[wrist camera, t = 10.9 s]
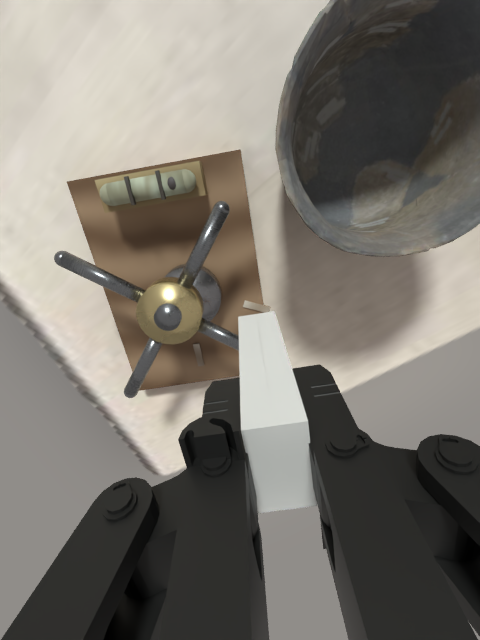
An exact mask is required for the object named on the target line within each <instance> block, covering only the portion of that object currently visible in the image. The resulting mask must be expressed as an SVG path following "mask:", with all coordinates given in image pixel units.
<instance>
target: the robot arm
mask: <svg viewBox="0 0 480 640" xmlns="http://www.w3.org/2000/svg"><path fill="white" fill-rule="evenodd" d="M238 330H239V372H240V378H234V379H227V380H221V381H214V382H212V384H211V385H210V386H209V388H208V389H207V391H206V392H205V399H204V406H203V414H202V417H201V418H199V419H197V420H195V421H193V422H192V423H190V424H189V425H188V426H187V427H186V428H185V429H184V430H183V431H182V433H181V435H180V437H179V439H178V440H179V444H180V447H181V450H182V453H183V456H184V460H185V463H186V466H187V469H186V470H184V471H183V472H182V473H181V474H179V475H178V476H176V477H174V478H172V479H170V480H168V481H165V482H163V483H161V484H158V485H156V486H154V487H151V486H150V485H149V484H148V483H147V481H145V480H143V479H140V478H127V479H124V480H121V481H119V482H116V483H114V484H112V485H111V486H110V487H108V488H107V489H106V490H104V491H103V492H102V493H101V494H100V495H99V496H98V498H97V499H96V500H95V501H94V502H93V504H92V505H91V507H90V508H89V510H88V511H87V513H86V514H85V516H84V517H83V519H82V520H81V522H80V523H79V525H78V526H77V528H76V529H75V531H74V532H73V534H72V535H71V536H70V538H69V540H68V541H67V543H66V544H65V545H64V547H63V548H62V550H61V551H60V553H59V554H58V556H57V557H56V559H55V560H54V562H53V563H52V565H51V566H50V568H49V569H48V571H47V572H46V574H45V575H44V577H43V578H42V580H41V581H40V583H39V584H38V586H37V587H36V589H35V590H34V592H33V593H32V594H31V596H30V597H29V599H28V600H27V602H26V603H25V605H24V607H23V608H22V609H21V611H20V613H19V614H18V615H17V617H16V618H15V620H14V621H13V623H12V624H11V626H10V627H9V629H8V630H7V632H6V633H5V635H4V636H3V638H2V639H1V640H269V631H268V619H267V606H266V594H265V579H264V566H263V553H262V542H261V541H262V540H261V533H260V528H259V524H258V513H264V512H272V511H280V510H288V509H295V508H303V507H311V506H317V504H318V508H319V512H320V519H321V529H322V539H323V548H324V549H327V553H328V557H329V561H330V565H331V570H332V573H333V578H334V582H335V586H336V590H337V594H338V598H339V602H340V606H341V610H342V614H343V618H344V623H345V627H346V631H347V635H348V639H349V640H478V639H477V637H476V635H475V634H474V631H473V629H472V628H471V626H470V624H471V625H472V627H473V628H474V629H475V631H476V632H477V633H478V635H479V636H480V446H478V445H477V444H475V443H473V442H472V441H469V440H466V439H463V438H461V437H458V436H453V435H442V434H440V435H435V436H429V437H427V438H426V439H424V440H423V441H421V442H420V444H419V447H418V449H417V450H409V449H400V448H393V447H388V446H384V445H381V444H378V443H376V442H374V441H373V440H372V439H371V438H370V437H369V435H368V434H367V433H365V432H363V431H362V430H360V429H359V428H358V427H357V425H356V423H355V421H354V419H353V417H352V415H351V413H350V411H349V409H348V407H347V405H346V403H345V401H344V399H343V397H342V395H341V393H340V391H339V389H338V387H337V385H336V383H335V381H334V379H333V376H332V374H331V372H329V371H328V370H327V369H325V368H324V367H322V366H321V365H314V366H307V367H300V368H294V369H292V366H291V363H290V360H289V357H288V353H287V350H286V347H285V343H284V340H283V337H282V334H281V330H280V327H279V324H278V320H277V317H276V314H275V311H271V312H265V313H259V314H253V315H246V316H240V317H238ZM316 500H317V501H316ZM257 509H258V511H257ZM468 621H469V622H468ZM469 623H470V624H469Z"/></svg>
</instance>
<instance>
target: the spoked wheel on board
mask: <svg viewBox="0 0 480 640" xmlns="http://www.w3.org/2000/svg"><path fill="white" fill-rule="evenodd" d="M67 184H68V187H69V190H70V192H71V195H72V198H73V201H74V204H75V207H76V210H77V213H78V216H79V218H80V221H81V224H82V227H83V230H84V233H85V236H86V239H87V242H88V244H89V247H90V250H91V253H92V256H93V259H94V262H95V265H96V266H97V267H99V268H101V269H103V270H105V271H107V272H109V273H111V274H113V275H115V276H117V277H120V278H122V279H124V280H126V281H128V282H130V283H132V284H134V285H136V286H138V287H140V288H142V289H144V290H147V288H148V287H149V286H150V285H151V284H152V283H153V282H155V281H157V280H159V279H161V278H164V277H165V276H166V275H167V273H168V272H169V271H170V270H172V269H173V268H175V267H176V266H179V265H182V264H186V262H187V260H188V258H189V256H190V254H191V252H192V250H193V248H194V246H195V244H196V242H197V240H198V238H199V236H200V234H201V232H202V230H203V228H204V226H205V223H206V221H207V219H208V217H209V215H210V213H211V211H212V209H213V207H214V205H215V204H216V203H217V202H219V201H225V202H226V203H227V204H228V205H229V207H230V212H229V215H228V217H227V219H226V220H225V222H224V224H223V226H222V228H221V230H220V232H219V234H218V236H217V238H216V240H215V242H214V244H213V246H212V248H211V250H210V252H209V254H208V256H207V258H206V260H205V262H204V264H203V267H205V268H207V269H209V270H210V271H211V272H212V273H213V274H214V275H215V276H216V278H217V279H218V281H219V283H220V286H221V292H222V293H221V303H220V308H219V310H218V313H217V314H216V316H215V317H214V318H213V319H212V320H211V321H210V322H212V323H214V324H216V325H218V326H220V327H222V328H224V329H226V330H228V331H231V332H233V333H235V334H237V335H239V330H238V317H240V316H246V315H253V314H259V313H264V312H269V311H270V308H271V307H269V306H265V305H263V300H262V293H261V286H260V279H259V273H258V266H257V259H256V252H255V245H254V239H253V232H252V225H251V218H250V211H249V205H248V198H247V191H246V184H245V177H244V171H243V164H242V157H241V150H236V151H230V152H225V153H219V154H214V155H209V156H203V157H198V158H192V159H187V160H182V161H176V162H171V163H165V164H160V165H155V166H149V167H144V168H139V169H133V170H128V171H122V172H117V173H112V174H106V175H101V176H95V177H90V178H85V179H79V180H74V181H69V182H67ZM103 288H104V291H105V293H106V296H107V299H108V302H109V305H110V308H111V311H112V314H113V317H114V319H115V322H116V325H117V328H118V331H119V334H120V337H121V340H122V342H123V345H124V348H125V351H126V354H127V357H128V360H129V363H130V366H131V368H132V371H134V369H135V367H136V365H137V363H138V361H139V358H140V356H141V354H142V352H143V350H144V348H145V346H146V344H147V342H148V340H149V338H150V337H149V336H148V335H146V334H145V333H144V331H143V330H142V329H141V327H140V326H139V323H138V321H137V317H136V307H137V302H135V301H133V300H130V299H128V298H126V297H124V296H122V295H120V294H118V293H116V292H114V291H112V290H109V289H107V288H105V287H103ZM233 376H240V372H239V351H238V350H236V349H234V348H231V347H229V346H227V345H225V344H223V343H221V342H219V341H217V340H215V339H213V338H210V337H208V336H206V335H204V334H202V333H200V332H198V331H197V332H196V333H195V334H194V336H192V337H191V338H190V339H189V340H187V341H185V342H182V343H179V344H164V343H163V344H162V346H161V348H160V350H159V352H158V354H157V356H156V358H155V360H154V362H153V364H152V366H151V368H150V370H149V371H148V373H147V375H146V377H145V379H144V381H143V383H142V385H141V387H140V389H139V390H146V389H153V388H159V387H166V386H173V385H180V384H186V383H193V382H200V381H206V380H213V379H220V378H226V377H233Z"/></svg>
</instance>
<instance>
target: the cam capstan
mask: <svg viewBox="0 0 480 640" xmlns="http://www.w3.org/2000/svg"><path fill="white" fill-rule="evenodd" d="M229 212H230V207H229V205H228V204H227V203H226V202H225V201H219V202H217V203H216V204H215V205H214V207H213V209H212V211H211V213H210V215H209V217H208V219H207V221H206V223H205V226H204V228H203V230H202V232H201V234H200V236H199V238H198V240H197V242H196V244H195V246H194V248H193V250H192V252H191V254H190V256H189V258H188V260H187V262H186V264H182V265H179V266H176V267H175V268H173V269H172V270H170V271H169V272H168V273H167V275H166V276H165V277H164V278H161V279H159V280H157V281H155V282H153V283H152V284H151V285H150V286H149V287H148V288H147V290H144V289H142V288H140V287H138V286H136V285H134V284H132V283H130V282H128V281H126V280H124V279H122V278H120V277H117V276H115V275H113V274H111V273H109V272H107V271H105V270H103V269H101V268H99V267H97V266H95V265H93V264H91V263H89V262H87V261H85V260H83V259H80V258H78V257H76V256H74V255H72V254H70V253H68V252H66V251H59V252H57V253H56V254H55V256H54V260H55V262H56V264H58V265H59V266H61V267H63V268H65V269H67V270H69V271H72V272H74V273H76V274H78V275H80V276H82V277H84V278H86V279H88V280H91V281H93V282H95V283H97V284H99V285H101V286H103V287H105V288H107V289H109V290H112V291H114V292H116V293H118V294H120V295H122V296H124V297H126V298H128V299H130V300H133V301H135V302H137V307H136V317H137V321H138V323H139V326H140V327H141V329H142V330H143V331H144V333H145V334H146V335H148V336H149V337H150V338H149V340H148V342H147V344H146V346H145V348H144V350H143V352H142V354H141V356H140V358H139V361H138V363H137V365H136V367H135V369H134V371H133V373H132V375H131V377H130V379H129V381H128V383H127V385H126V387H125V389H124V394H125V396H126V397H128V398H133V397H135V396H136V395H137V393H138V391H139V389H140V387H141V385H142V383H143V381H144V379H145V377H146V375H147V373H148V371H149V370H150V368H151V366H152V364H153V362H154V360H155V358H156V356H157V354H158V352H159V350H160V348H161V346H162V344H163V343H164V344H179V343H182V342H185V341H187V340H189V339H190V338H191V337H192V336H194V334H195V333H196V332H197V331H198V332H200V333H202V334H204V335H206V336H208V337H210V338H213V339H215V340H217V341H219V342H221V343H223V344H225V345H227V346H229V347H231V348H234V349H236V350H238V351H239V335H237V334H235V333H233V332H231V331H228V330H226V329H224V328H222V327H220V326H218V325H216V324H214V323H212V322H210V321H211V320H212V319H213V318H214V317H215V316H216V314H217V313H218V310H219V308H220V303H221V293H222V292H221V286H220V283H219V281H218V279H217V278H216V276H215V275H214V274H213V273H212V272H211V271H210V270H209V269H207V268H205V267H203V264H204V262H205V260H206V258H207V256H208V254H209V252H210V250H211V248H212V246H213V244H214V242H215V240H216V238H217V236H218V234H219V232H220V230H221V228H222V226H223V224H224V222H225V220H226V219H227V217H228V215H229Z"/></svg>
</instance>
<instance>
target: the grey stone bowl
mask: <svg viewBox="0 0 480 640" xmlns="http://www.w3.org/2000/svg"><path fill="white" fill-rule="evenodd" d="M276 154H277V159H278V164H279V169H280V174H281V177H282V181H283V184H284V187H285V190H286V193H287V196H288V198H289V200H290V202H291V203H292V205H293V206H294V208H295V209H296V210H297V212H298V213H299V215H300V216H301V218H302V219H303V221H304V222H305V224H306V225H307V226H308V227H309V228H310V229H311V230H312V231H313V232H314V233H315V234H317V235H318V236H319V237H320V238H321V239H323V240H324V241H326V242H327V243H329V244H331V245H332V246H334V247H336V248H338V249H340V250H342V251H346V252H351V253H356V254H362V255H369V256H387V257H390V256H403V255H409V254H414V253H420V252H425V251H428V250H429V249H430V248H436V247H439V246H441V245H444V244H447V243H449V242H452V241H454V240H455V239H457V238H459V237H460V236H462V235H464V234H465V233H467V232H469V231H470V230H472V229H473V228H474V227H476V226H477V225H478V224H480V0H330V2H329V3H328V5H327V6H326V7H325V8H324V9H323V10H322V11H320V12H319V14H318V16H317V17H316V19H315V21H314V22H313V24H312V26H311V27H310V29H309V30H308V32H307V34H306V36H305V38H304V40H303V42H302V44H301V45H300V47H299V49H298V51H297V53H296V55H295V57H294V61H293V66H292V69H291V71H290V72H289V74H288V75H287V78H286V81H285V85H284V88H283V91H282V95H281V100H280V104H279V111H278V118H277V126H276Z"/></svg>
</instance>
